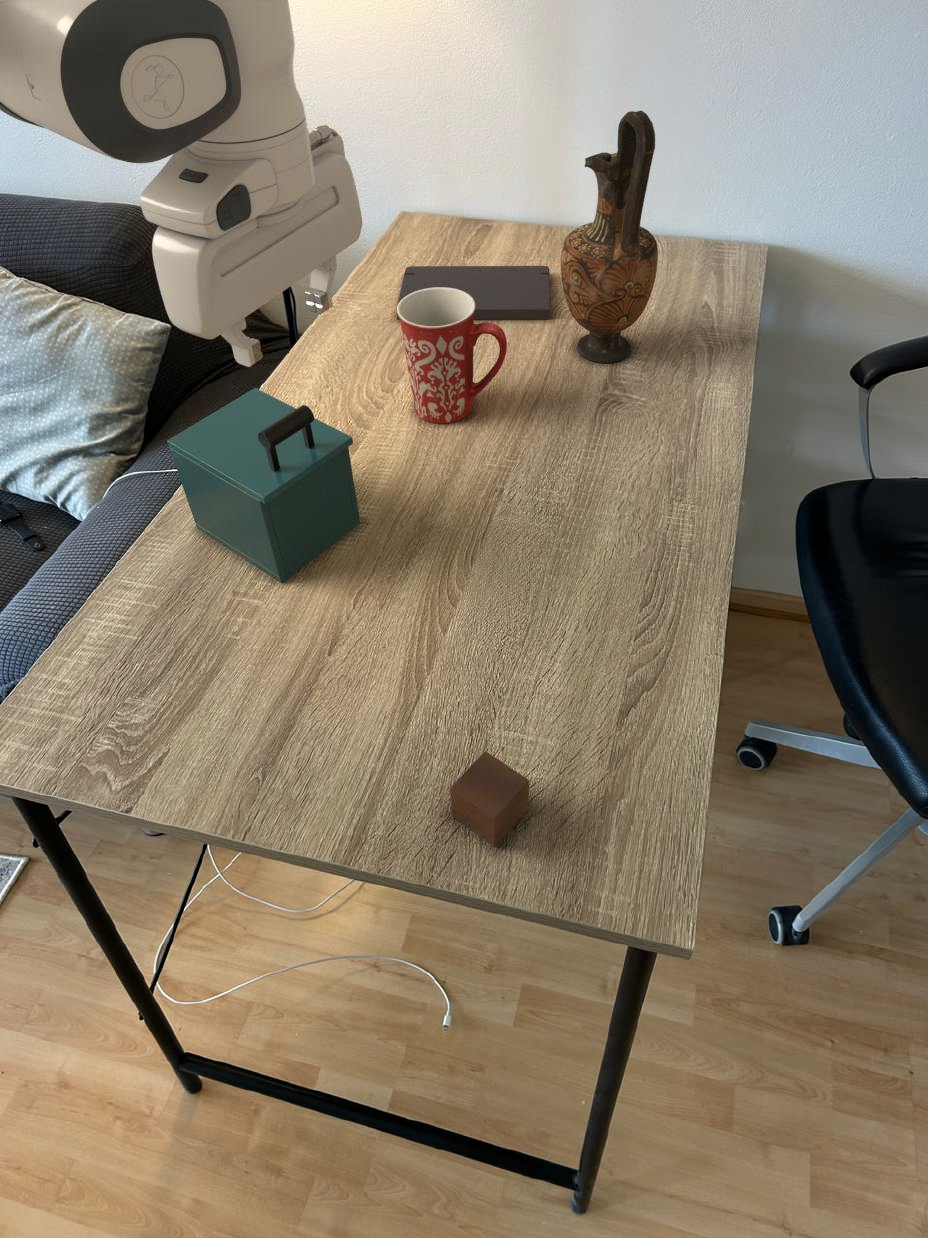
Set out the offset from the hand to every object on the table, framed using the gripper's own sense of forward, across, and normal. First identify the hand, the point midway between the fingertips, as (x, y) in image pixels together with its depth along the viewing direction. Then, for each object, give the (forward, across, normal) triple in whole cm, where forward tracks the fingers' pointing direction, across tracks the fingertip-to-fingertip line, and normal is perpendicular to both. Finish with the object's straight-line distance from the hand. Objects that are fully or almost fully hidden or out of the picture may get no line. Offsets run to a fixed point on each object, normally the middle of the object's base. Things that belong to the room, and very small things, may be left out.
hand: (286, 334), depth 76 cm
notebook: (+25, -53, -14) cm, 60 cm away
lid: (+14, 0, -7) cm, 16 cm away
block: (+25, +18, +30) cm, 44 cm away
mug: (+25, -28, -2) cm, 38 cm away
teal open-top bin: (+25, 0, -7) cm, 26 cm away
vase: (+25, -48, +8) cm, 55 cm away
